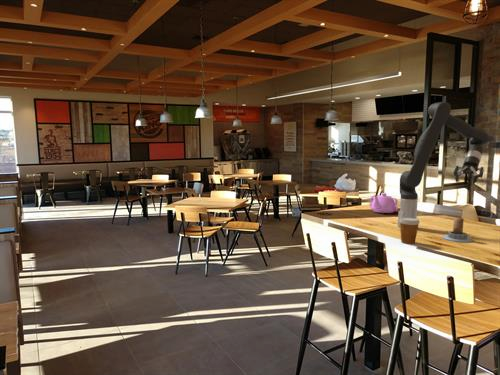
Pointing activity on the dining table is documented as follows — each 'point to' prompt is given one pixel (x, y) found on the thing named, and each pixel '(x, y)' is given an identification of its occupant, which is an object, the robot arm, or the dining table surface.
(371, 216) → the dining table surface
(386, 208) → the teapot
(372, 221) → the dining table surface
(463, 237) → the ring socket
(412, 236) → the disposable coffee cup
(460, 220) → the walnut plug
